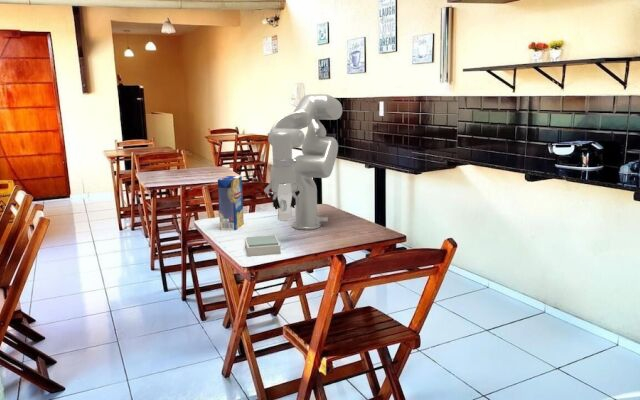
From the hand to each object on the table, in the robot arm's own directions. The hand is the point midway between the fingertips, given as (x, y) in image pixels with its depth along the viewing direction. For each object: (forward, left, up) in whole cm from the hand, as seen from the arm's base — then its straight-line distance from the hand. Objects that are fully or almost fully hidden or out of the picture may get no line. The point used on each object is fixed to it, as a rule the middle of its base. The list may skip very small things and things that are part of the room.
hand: (284, 207), depth 208 cm
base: (+11, +11, -13) cm, 20 cm away
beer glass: (0, 0, -5) cm, 5 cm away
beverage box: (+20, -27, -14) cm, 36 cm away
